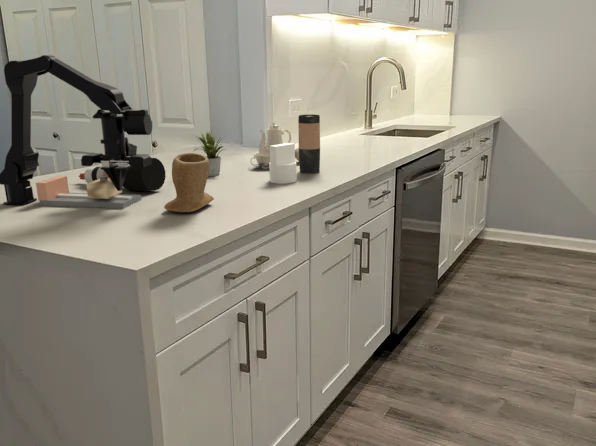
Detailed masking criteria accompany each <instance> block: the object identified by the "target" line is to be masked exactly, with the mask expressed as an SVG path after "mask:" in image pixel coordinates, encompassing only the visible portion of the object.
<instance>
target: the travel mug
mask: <svg viewBox="0 0 596 446" xmlns="http://www.w3.org/2000/svg"><path fill="white" fill-rule="evenodd" d="M320 119H321V118H320V114H300V115H298V119H297V120H298V122H297V123H298V124H297V125H298V128H297V129H298V148H299V161H298V164H299V172H300V173H301V174H304V175H305V174H306V175H308V174H309V175H311V174H312V175H313V174H318V173H320V172H321V171H320V169H321V168H320V167H321V163H320V162H321V121H320Z"/></svg>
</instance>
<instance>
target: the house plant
mask: <svg viewBox="0 0 596 446" xmlns="http://www.w3.org/2000/svg"><path fill="white" fill-rule="evenodd" d="M205 132H206V133H205V136H204V134H203V133H202V132H200V131H198V133H199V135H201V137H200V136H199V137H198V136H197V135H195V134H191V133H190V134H188V135H191V136H192V137H191V138H193V139H195V138H196V140H198V142H199V143H201V145H202V146H200V148H201V150H202V151H203V152H204V154H206V155H205V156H206V157H207V158H208V160H209V175H208V177H216V176H220V175H221V174H220V172H221V163H222V156H221V155H219V154H220V153H221V152H222V151H225V150H226V148H224V149H222V148H223V147H224V145H222V144H221V143H220V142H221V141H222V139H221V137H222V135H223V134H222V135H220V137H219V138H218V140H216V141H217V142H216V143H215V136H212V132H213V130H211V131H209V132H208V131H207V130H206V131H205ZM193 136H194V137H193ZM226 136H227V134H225V135H224V137H226ZM200 141H201V142H200ZM200 148H195V149H194V150H193V152H195V151H197V150H200Z"/></svg>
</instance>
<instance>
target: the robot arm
mask: <svg viewBox="0 0 596 446" xmlns="http://www.w3.org/2000/svg"><path fill="white" fill-rule="evenodd" d="M48 73H49V74H51V75H53V76H54V77H56V78H57V79H60V81H63V82H64V83H66V84H68V85H69V86H71V87H73V88H74V89H77V90H78V91H79V92H81V93H83V94H84V95H86V97H87V98H88V100H89V101H90V102H91V103H92V104H93V105H95V106H96V107H97V108H98V110H97V111H96V113H94V115H92V119H100V122H101V123H100V124H101V133H102V139H100V144H103V150H104V151H103V152H104V153H102V152H101V153H99V152H98V153H97V152H91V153H88V154H87V153H86V154H83V155H82V156H81V158H80V164H81V167H93V165H94V164H101V166H102V167H100V169H102V170H104V171H105V173H106V174H107V175H108V177H109V178H110V179H111V181H112V183H113V184H114V186H115V187H116V189H117V191H121V190H122V191H123V188H124V187H123V183H124V179H125V176H126V173H127V171H128V169H129V168H131V167H138V168H141V167H145V166H148V165H151V164H152V158H153V157H152V156H151V155H150V154H146V153H145V154H144V153H141V154H140V153H137V150H138V145H135V144H133V143H129V139H128V137H125V133H126V134H127V135H129V136H150V135H151V134H152V131H153V120H152V118H151V116H150V114H149V110H148V109H147V108H146V109H133V108H132V106H131V105H130V104H129V103H128V102H127V101H126V99H125V97H124V93H123V91H122V90H121V89H119V88H117V87H115V86H113V85H110V84H106V83H104V82H99V81H96V80H94V79H93V78H91V77H89V76H87V75H86V74H84V73H82V72H81V71H79V70H77V69H76V68H74V67H72V66H70V64H69V65H68V64H67V63H66V62H63V61H62V60H60V59H59V58H58V57H56V56H55V55H50V54H49V55H47V54H46V55H45V54H44V55H41V56H39V57H34V58H30V59H25V60H10V61H8V62H7V63H6V64H4V67H3V75H4V79H5V84H6V86H7V88H8V90H9V92H10V94H11V95H10V99H11V100H10V101H11V103H10V105H11V107H10V109H11V112H10V118H11V119H10V120H11V121H10V122H11V123H10V124H11V126H10V127H11V129H10V130H11V131H10V132H11V133H10V134H11V137H10V138H11V139H10V140H11V141H10V142H11V143H10V144H11V145H10V147H9V150H8V152H7V153H6V155H5V161H4V166H3V167H4V169H2V171H1V172H0V185H1V186H4V192H5V197H6V201H4V202H2V205H10V206H11V205H13V206H23V205H26V204H29V203H31V202H35V201H37V199H38V198H37V197H36V198H35V197H34V192H33V187H32V185H31V180H32V179H33V178H34V174H35V172H37V169H38V167H40V164H39V155H40V154H39V152H37V151H36V152H34V150H33V148H32V145H31V142H32V139H31V137H32V136H31V135H32V130H31V129H32V125H31V123H32V120H31V119H32V94H33V92H34V90H35V88H36V87H37V83H38V78H39V77H41V76H43V75H46V74H48Z"/></svg>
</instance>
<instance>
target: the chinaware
mask: <svg viewBox="0 0 596 446" xmlns="http://www.w3.org/2000/svg"><path fill="white" fill-rule="evenodd" d="M259 132H260V133H261V138H260V141H259V142H260V143H259V147H258V153H256V154H253V156H252V157H251V158H250V161H252V160H253V159H254V160H256V164H255V166H257V167H258V168H260V167H261V169H263V170H264V169H265V170H267V169H269V163H270V146H272V145H278V144H284V142H283V138H282V136H283V135H284V134H285V132H287V133H288V137H289V139H288V141H287V143H291V140H292V135H291V134H292V133H291V132H290V131H289V130H288V129H283V127H282V128H281V127H279V125H278V124H277V123H276V122H275V121H273V122H272V125H270V126H269V127H268V128H266V132H265V131H264V130H262V129H260V130H259ZM266 135H267V140H266ZM295 160H296V161H298V162H299V147H297V148H295ZM250 164H251V165H252V166H254V163H253V162H250Z"/></svg>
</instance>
